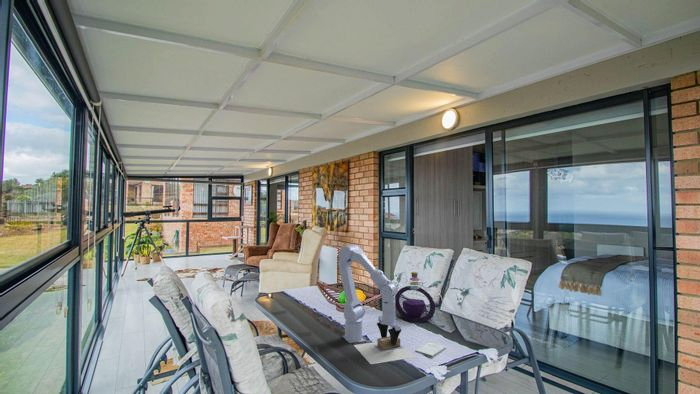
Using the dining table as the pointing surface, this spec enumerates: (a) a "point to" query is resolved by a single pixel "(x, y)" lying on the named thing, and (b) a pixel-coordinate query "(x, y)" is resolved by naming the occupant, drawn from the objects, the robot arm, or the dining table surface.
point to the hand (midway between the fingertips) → (388, 341)
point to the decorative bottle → (414, 303)
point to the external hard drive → (431, 349)
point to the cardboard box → (387, 343)
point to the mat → (382, 353)
